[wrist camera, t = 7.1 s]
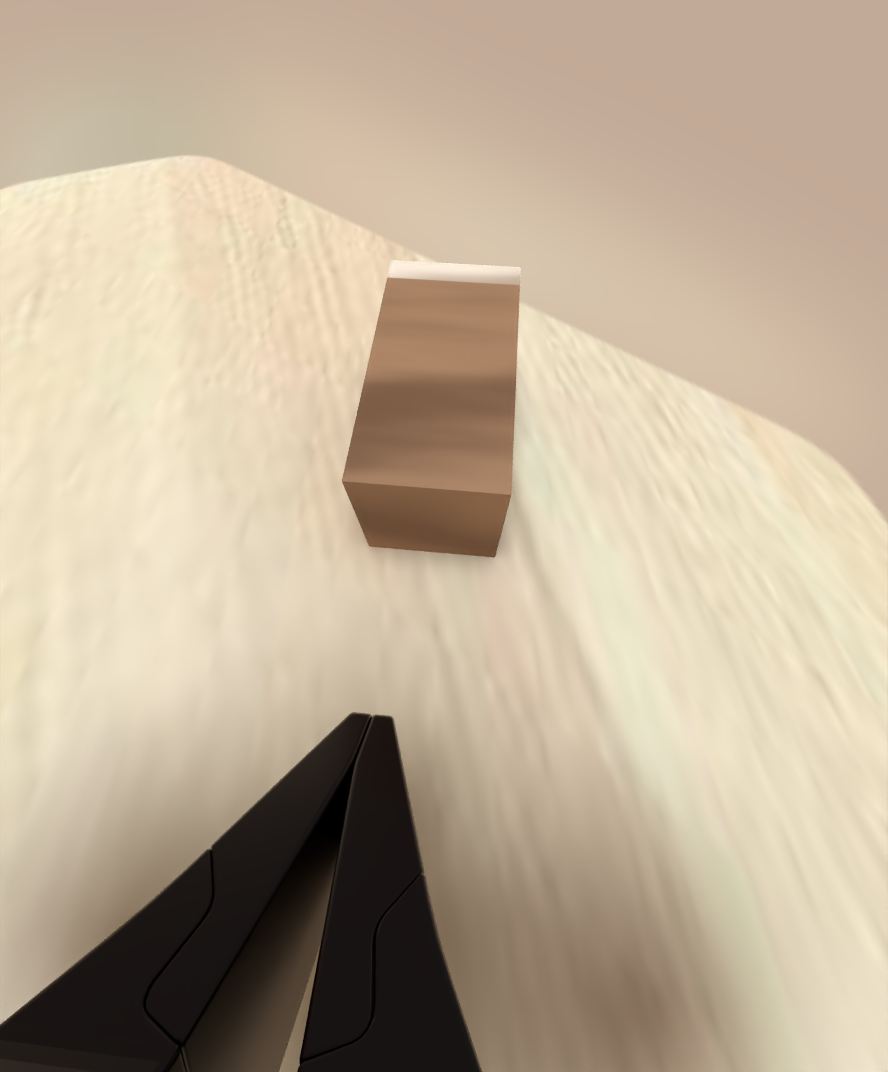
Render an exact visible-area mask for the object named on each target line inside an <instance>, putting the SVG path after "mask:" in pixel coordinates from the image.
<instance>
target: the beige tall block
mask: <svg viewBox="0 0 888 1072" xmlns="http://www.w3.org/2000/svg"><path fill="white" fill-rule="evenodd" d="M519 291H520V267H504V266H485V265H467V264H449V263H432V262H414V261H396V260H391V264H390V268H389V273H388V277H387V282H386V286H385V291H384V295H383V300H382V304H381V309H380V313H379V317H378V322H377V326H376V331H375V335H374V340H373V344H372V349H371V353H370V358H369V362H368V367H367V371H366V376H365V380H364V385H363V389H362V394H361V398H360V403H359V407H358V412H357V416H356V420H355V425H354V429H353V434H352V438H351V443H350V447H349V452H348V456H347V461H346V465H345V470H344V474H343V479H342V482H343V485H344V487H345V490H346V492H347V494H348V497H349V499H350V501H351V504H352V506H353V509H354V511H355V513H356V516H357V518H358V520H359V523H360V525H361V528H362V530H363V532H364V535H365V537H366V539H367V542H368V544H369V546H371V547H382V548H394V549H405V550H417V551H428V552H440V553H451V554H463V555H474V556H486V557H495V555H496V551H497V547H498V543H499V539H500V536H501V532H502V528H503V524H504V520H505V517H506V513H507V509H508V505H509V501H510V498H511V488H512V464H513V439H514V414H515V390H516V365H517V341H518V316H519Z"/></svg>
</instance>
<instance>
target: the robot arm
mask: <svg viewBox="0 0 888 1072" xmlns="http://www.w3.org/2000/svg"><path fill="white" fill-rule="evenodd" d="M321 939H322V940H321ZM320 942H321V945H320ZM319 946H320V951H319V956H318V962H317V967H316V973H315V978H314V984H313V989H312V995H311V1000H310V1005H309V1011H308V1016H307V1022H306V1027H305V1033H304V1038H303V1044H302V1049H301V1054H300V1066H299V1068H298V1072H482V1070H481V1067H480V1064H479V1061H478V1058H477V1055H476V1052H475V1049H474V1046H473V1043H472V1040H471V1037H470V1034H469V1031H468V1028H467V1025H466V1022H465V1019H464V1016H463V1013H462V1009H461V1006H460V1003H459V1000H458V997H457V994H456V991H455V988H454V985H453V982H452V979H451V976H450V973H449V969H448V966H447V962H446V959H445V956H444V952H443V949H442V945H441V942H440V939H439V935H438V931H437V927H436V923H435V918H434V914H433V910H432V905H431V901H430V897H429V892H428V887H427V882H426V877H425V875H424V868H423V863H422V858H421V853H420V848H419V843H418V838H417V833H416V828H415V823H414V818H413V813H412V808H411V803H410V798H409V793H408V788H407V783H406V778H405V773H404V768H403V763H402V759H401V754H400V749H399V744H398V739H397V734H396V729H395V724H394V719H393V717H391V716H385V715H374V716H373V717H372V716H371V715H370V714H365V713H355V712H354V713H351V714H350V715H348V716H347V717H346V718H345V719H344V720H343V721H342V722H341V723H340V724H339V725H338V726H337V727H336V728H335V729H334V730H333V731H332V732H330V733H329V734H328V735H327V736H326V737H325V738H324V739H323V740H322V741H321V742H320V743H319V744H318V745H317V746H316V747H315V748H314V749H313V750H312V751H310V752H309V753H308V754H307V755H306V756H305V757H304V758H303V759H302V760H301V761H300V762H299V763H298V764H297V765H296V766H295V767H294V768H293V769H291V770H290V771H289V772H288V773H287V774H286V775H285V776H284V777H283V778H282V779H281V780H280V781H279V782H278V783H277V784H276V785H275V786H274V787H273V788H271V789H270V790H269V791H268V792H267V793H266V794H265V795H264V796H263V797H262V798H261V799H260V800H259V801H258V802H257V803H256V804H255V805H254V806H253V807H251V808H250V809H249V810H248V811H247V812H246V813H245V814H244V815H243V816H242V817H241V818H240V819H239V820H238V821H237V822H236V823H235V824H234V825H232V826H231V827H230V828H229V829H228V830H227V831H226V832H225V833H224V834H223V835H222V836H221V837H220V838H219V839H218V840H217V841H216V842H215V843H214V844H212V846H211V850H210V849H207V850H206V851H205V852H204V853H203V854H202V855H201V856H200V857H198V858H197V859H196V860H195V861H194V862H193V863H192V864H191V865H190V866H189V867H188V868H187V869H186V870H185V871H184V872H182V873H181V874H180V875H179V876H178V877H177V878H176V879H175V880H174V881H173V882H171V883H170V884H169V885H168V886H167V887H166V888H165V889H164V890H163V891H162V892H160V893H159V894H158V895H157V896H156V897H155V898H154V899H153V900H152V901H150V902H149V903H148V904H147V905H146V906H144V907H143V908H142V909H141V910H140V911H138V912H137V913H136V914H135V915H134V916H133V917H131V918H130V919H129V920H128V921H127V922H125V923H124V924H123V925H122V926H121V927H119V928H118V929H117V930H116V931H115V932H114V933H112V934H111V935H110V936H109V937H107V938H106V939H105V940H104V941H103V942H101V943H100V944H99V945H98V946H96V947H95V948H94V949H93V950H91V951H90V952H89V953H88V954H87V955H85V956H84V957H83V958H82V959H80V960H79V961H78V962H77V963H75V964H74V965H73V966H72V967H71V968H69V969H68V970H67V971H66V972H64V973H63V974H62V975H61V976H59V977H58V978H57V979H56V980H55V981H53V982H52V983H51V984H50V985H48V986H47V987H46V988H45V989H43V990H42V991H41V992H40V993H39V994H37V995H36V996H35V997H34V998H32V999H31V1000H30V1001H29V1002H28V1003H26V1004H25V1005H24V1006H23V1007H21V1008H20V1009H19V1010H18V1011H16V1012H15V1013H14V1014H13V1015H12V1016H10V1017H9V1018H8V1019H7V1020H5V1021H4V1022H3V1023H1V1024H0V1072H279V1069H280V1066H281V1063H282V1060H283V1057H284V1054H285V1051H286V1048H287V1045H288V1041H289V1038H290V1035H291V1032H292V1029H293V1026H294V1023H295V1020H296V1017H297V1014H298V1011H299V1007H300V1004H301V1001H302V998H303V995H304V992H305V989H306V986H307V983H308V980H309V976H310V973H311V970H312V967H313V964H314V961H315V958H316V955H317V952H318V949H319Z"/></svg>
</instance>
